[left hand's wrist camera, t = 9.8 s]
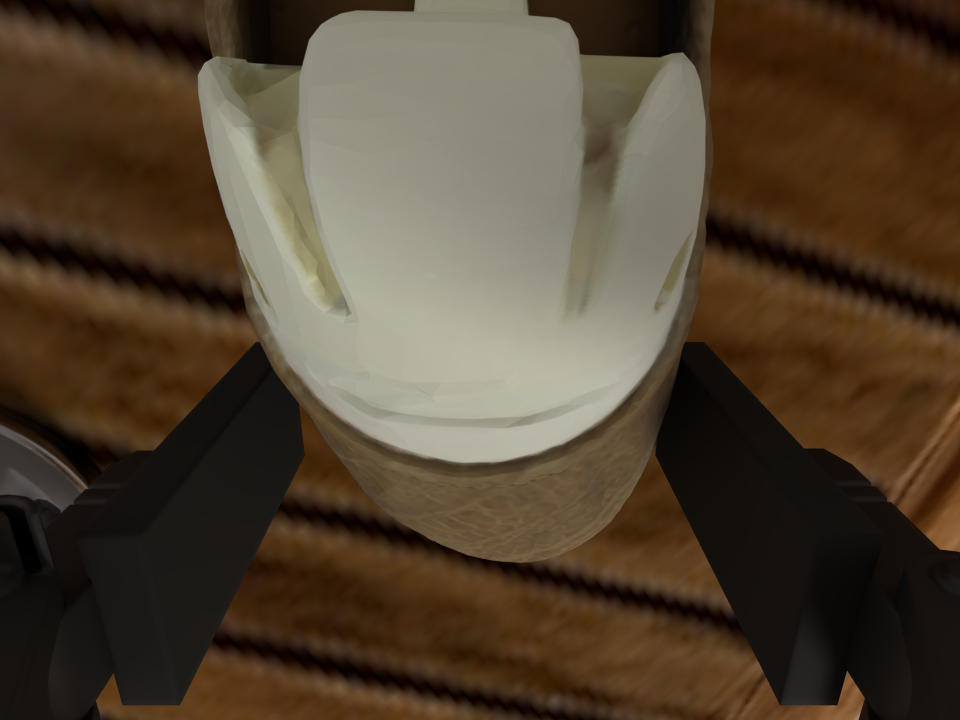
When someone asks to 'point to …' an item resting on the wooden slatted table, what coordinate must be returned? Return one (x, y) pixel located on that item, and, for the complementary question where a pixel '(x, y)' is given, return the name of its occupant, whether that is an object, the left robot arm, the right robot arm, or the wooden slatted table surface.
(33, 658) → the left robot arm
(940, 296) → the wooden slatted table surface
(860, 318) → the wooden slatted table surface
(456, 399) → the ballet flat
